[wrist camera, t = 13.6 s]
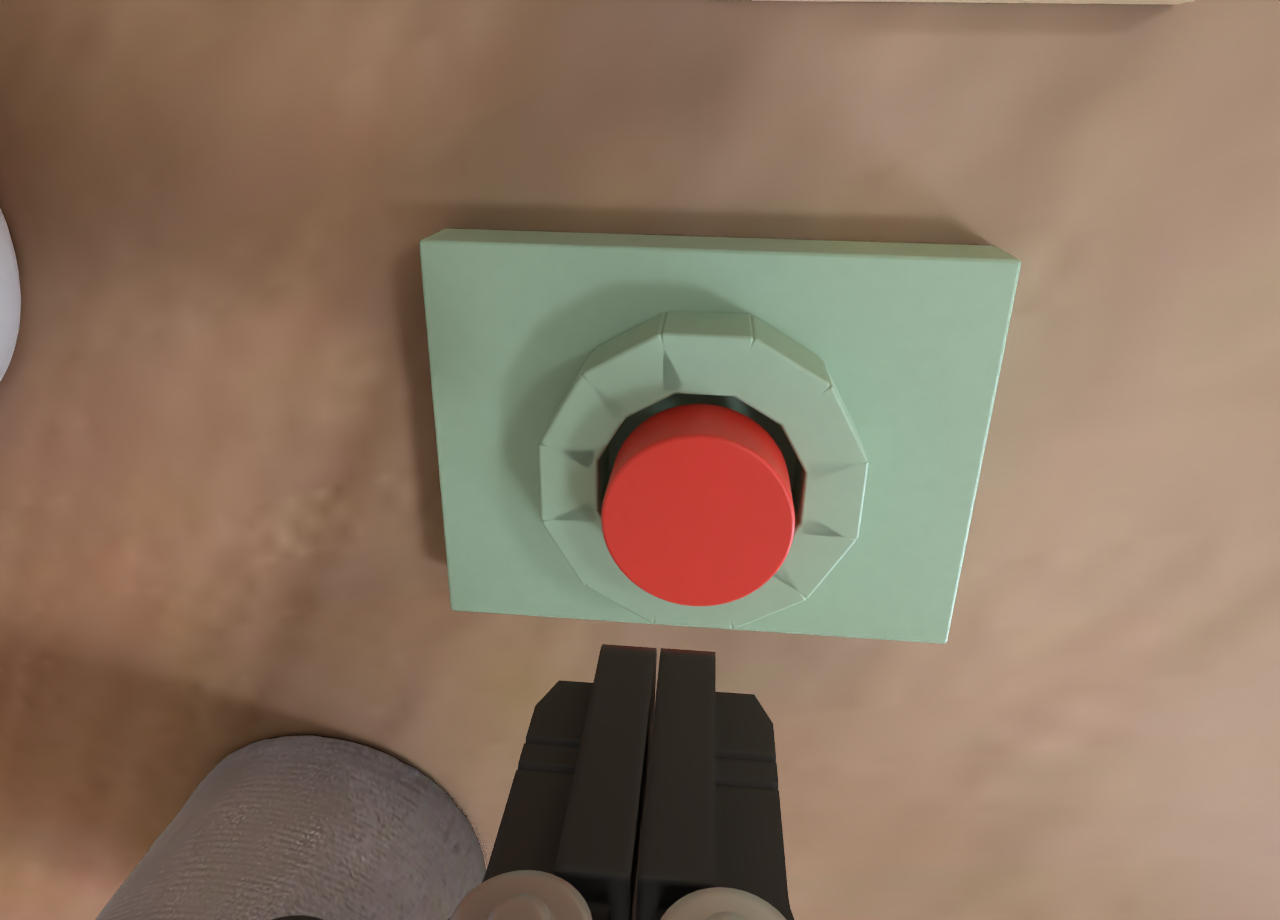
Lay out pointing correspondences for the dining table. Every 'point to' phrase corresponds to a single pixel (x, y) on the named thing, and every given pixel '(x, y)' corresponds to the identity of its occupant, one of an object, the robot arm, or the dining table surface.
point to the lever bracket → (1025, 1)
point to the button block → (725, 376)
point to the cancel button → (699, 506)
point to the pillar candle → (307, 841)
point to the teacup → (8, 297)
